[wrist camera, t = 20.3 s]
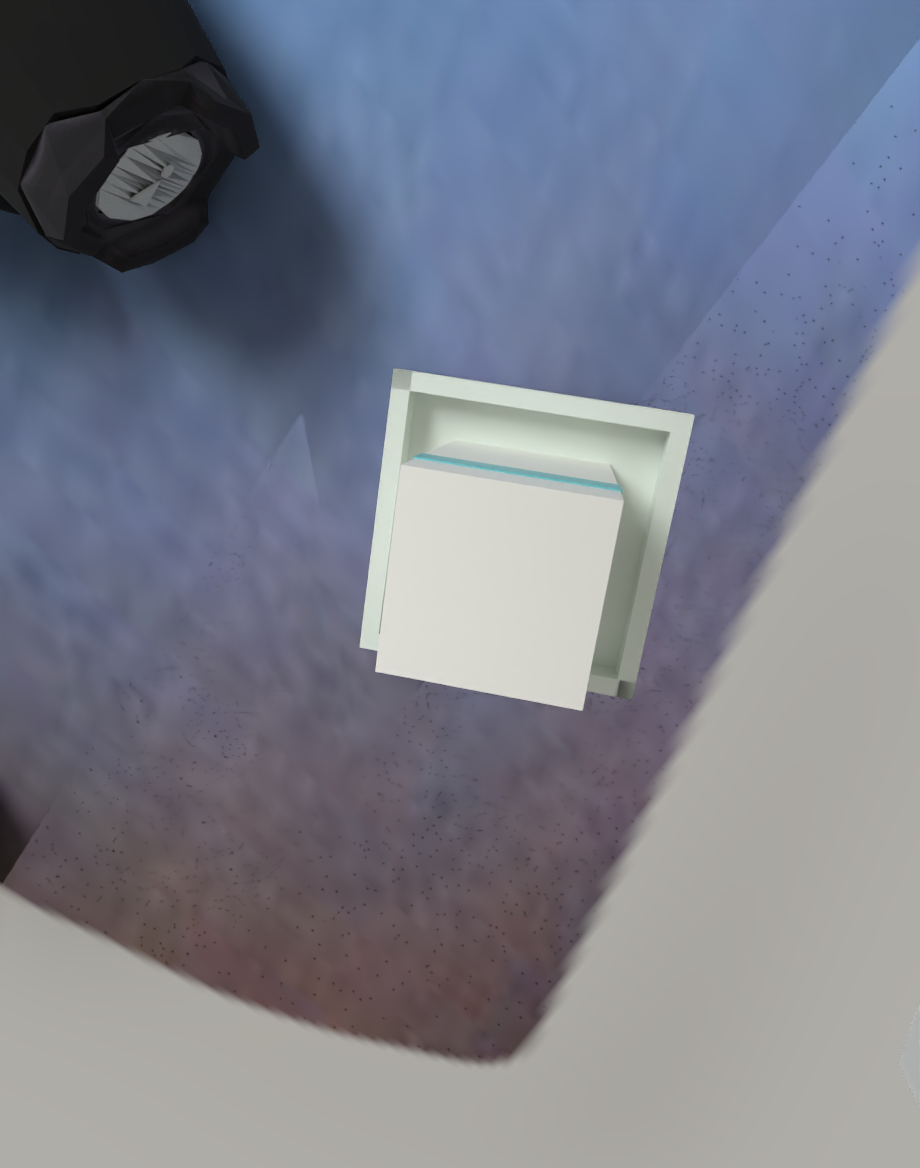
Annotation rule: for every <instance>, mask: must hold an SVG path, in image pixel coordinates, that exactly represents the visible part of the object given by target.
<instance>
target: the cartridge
mask: <svg viewBox="0 0 920 1168" xmlns="http://www.w3.org/2000/svg"><path fill="white" fill-rule="evenodd" d="M623 503H624V500H623V497H622V488H621V485H618V484H617V482H616V479H615V476H614V474H613V471H612V469H611V466H610V464H607V463H600V462H594V461H588V460H581V459H575V458H569V457H562V456H556V455H550V454H543V453H537V452H531V451H524V450H518V449H512V448H505V447H499V446H493V445H486V444H480V443H474V442H467V441H461V440H454V441H451V442H449V443H447V444H445V445H443V446H440V447H438V448H436V449H434V450H432V451H430V452H427V453H425V454H424V453H420V454H417V455H415V456H413V459H412V460H410V461H408V462H406V463H403V464H401V467H400V475H399V483H398V491H397V499H396V507H395V516H394V524H393V532H392V540H391V548H390V556H389V564H388V572H387V581H386V589H385V597H384V605H383V613H382V621H381V629H380V637H379V646H378V654H377V662H376V670H375V672H381V673H386V674H391V675H396V676H402V677H407V678H412V679H418V680H423V681H428V682H433V683H439V684H444V685H449V686H454V687H460V688H465V689H470V690H476V691H481V692H486V693H491V694H497V695H502V696H507V697H512V698H518V699H523V700H528V701H534V702H539V703H544V704H549V705H555V706H560V707H565V708H571V709H576V710H581V711H582V710H583V705H584V700H585V695H586V690H587V685H588V680H589V675H590V670H591V665H592V660H593V655H594V650H595V645H596V640H597V635H598V629H599V624H600V619H601V614H602V609H603V604H604V599H605V594H606V589H607V584H608V579H609V574H610V569H611V564H612V559H613V554H614V549H615V544H616V539H617V533H618V528H619V523H620V518H621V513H622V508H623Z"/></svg>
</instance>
